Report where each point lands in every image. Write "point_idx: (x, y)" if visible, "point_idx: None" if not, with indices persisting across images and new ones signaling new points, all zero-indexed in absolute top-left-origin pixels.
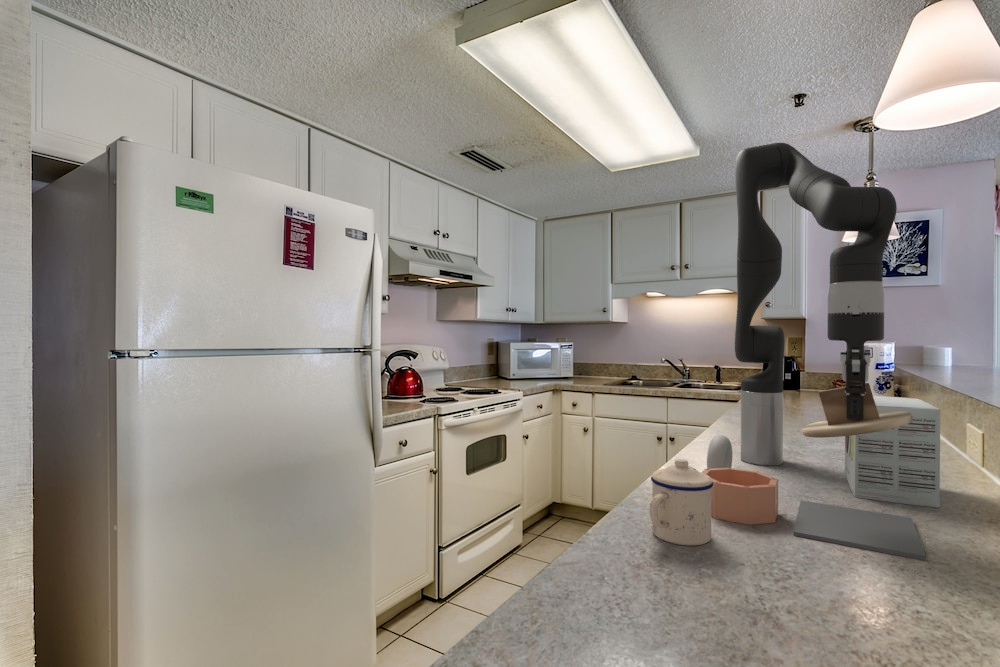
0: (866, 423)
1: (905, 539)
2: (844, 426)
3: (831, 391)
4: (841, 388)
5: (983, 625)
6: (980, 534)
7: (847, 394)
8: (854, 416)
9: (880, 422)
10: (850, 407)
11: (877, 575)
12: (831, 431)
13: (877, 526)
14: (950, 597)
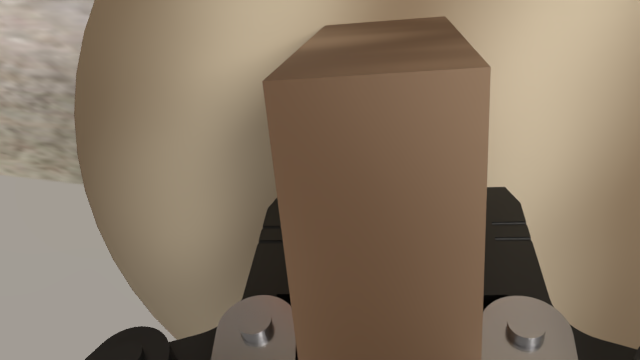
0: (214, 246)
1: None
2: (193, 136)
3: (286, 221)
4: (308, 327)
5: (14, 169)
6: None
7: (233, 316)
8: None
9: (191, 304)
10: (258, 245)
11: (67, 38)
12: (80, 64)
13: None
14: None
